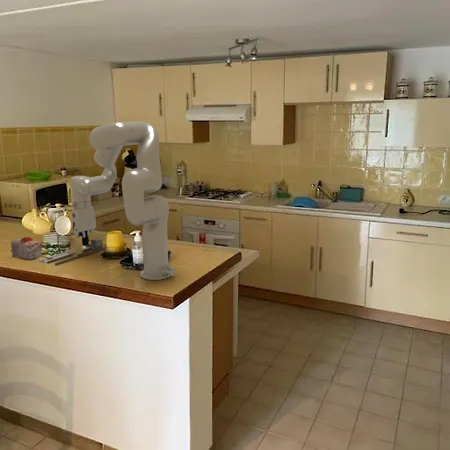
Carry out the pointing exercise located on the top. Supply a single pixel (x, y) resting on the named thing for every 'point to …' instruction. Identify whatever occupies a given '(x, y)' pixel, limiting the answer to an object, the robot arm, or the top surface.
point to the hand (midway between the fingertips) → (85, 245)
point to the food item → (26, 248)
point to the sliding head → (75, 246)
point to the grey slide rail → (95, 246)
